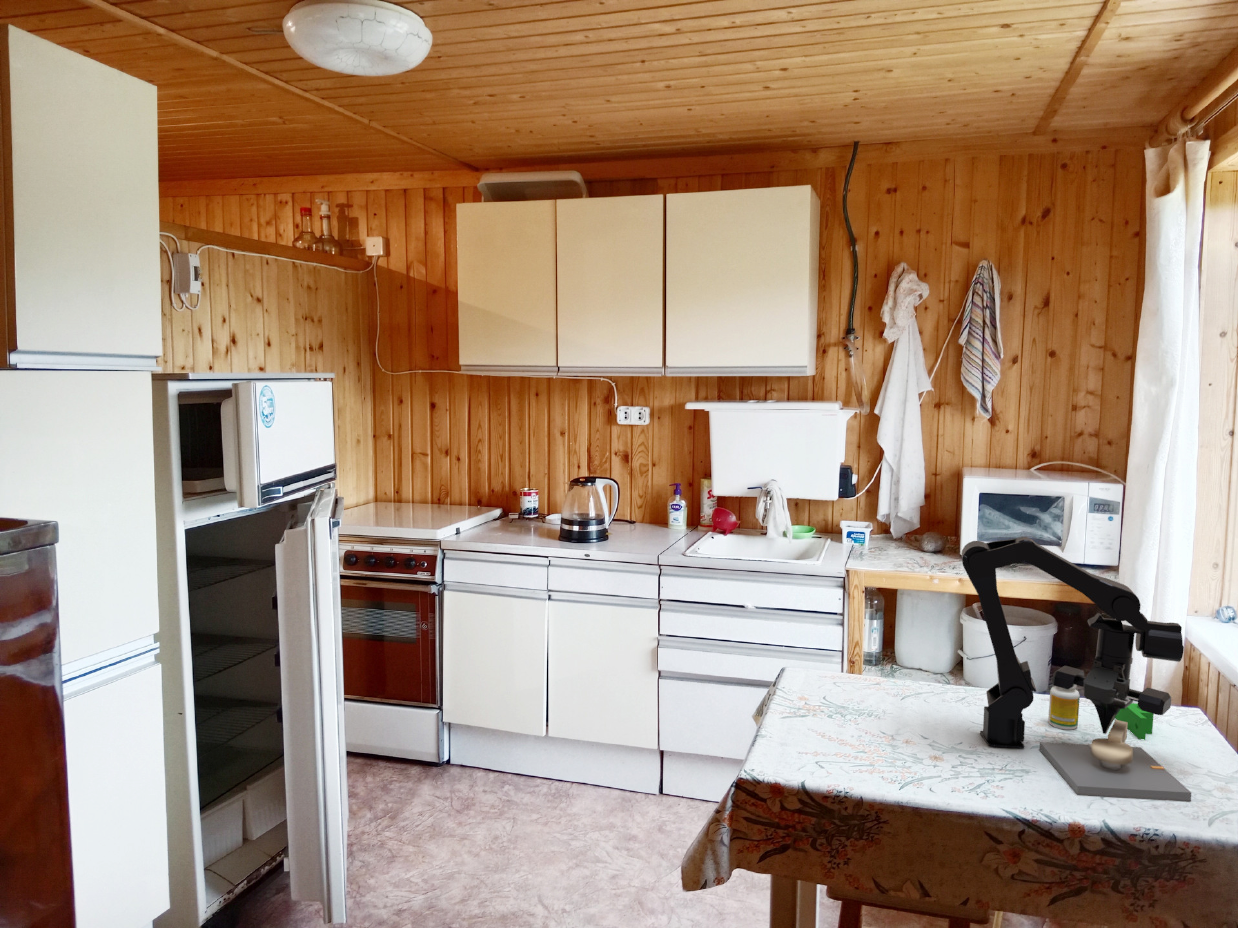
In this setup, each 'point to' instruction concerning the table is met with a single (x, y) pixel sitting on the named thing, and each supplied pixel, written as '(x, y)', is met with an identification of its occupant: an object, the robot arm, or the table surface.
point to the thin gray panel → (1113, 774)
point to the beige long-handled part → (1113, 745)
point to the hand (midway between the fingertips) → (1105, 732)
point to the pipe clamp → (1136, 720)
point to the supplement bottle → (1064, 707)
